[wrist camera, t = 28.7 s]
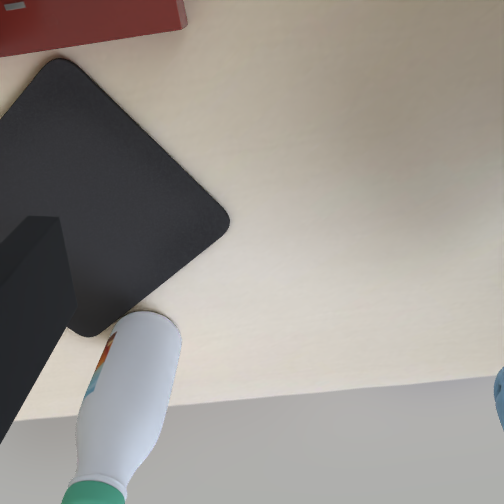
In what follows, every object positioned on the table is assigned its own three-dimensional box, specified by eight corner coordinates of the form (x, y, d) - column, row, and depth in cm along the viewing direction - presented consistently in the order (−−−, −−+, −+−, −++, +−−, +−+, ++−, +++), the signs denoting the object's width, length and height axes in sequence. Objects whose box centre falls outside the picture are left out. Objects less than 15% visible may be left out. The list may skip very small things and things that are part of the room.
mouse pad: (59, 47, 36) (58, 48, 35) (237, 222, 43) (237, 223, 43) (-80, 219, 44) (-82, 221, 44) (89, 340, 52) (88, 342, 51)
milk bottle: (138, 296, 48) (69, 474, 31) (196, 334, 51) (161, 517, 34) (100, 337, 52) (18, 518, 34) (156, 370, 54) (106, 555, 37)
